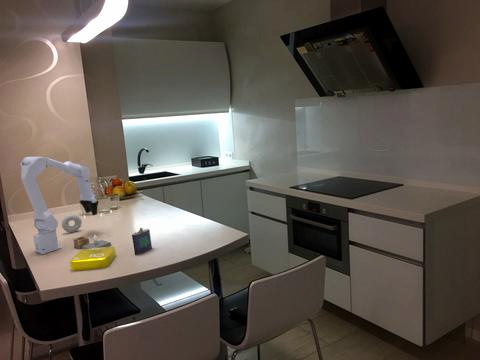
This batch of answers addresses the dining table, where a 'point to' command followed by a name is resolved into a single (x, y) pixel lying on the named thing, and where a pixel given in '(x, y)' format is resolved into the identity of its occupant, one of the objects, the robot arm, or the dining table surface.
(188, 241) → the dining table surface
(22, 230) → the dining table surface
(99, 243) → the rod stand
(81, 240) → the wooden square ring
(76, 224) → the donut
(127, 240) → the dining table surface
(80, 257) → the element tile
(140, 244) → the flask
